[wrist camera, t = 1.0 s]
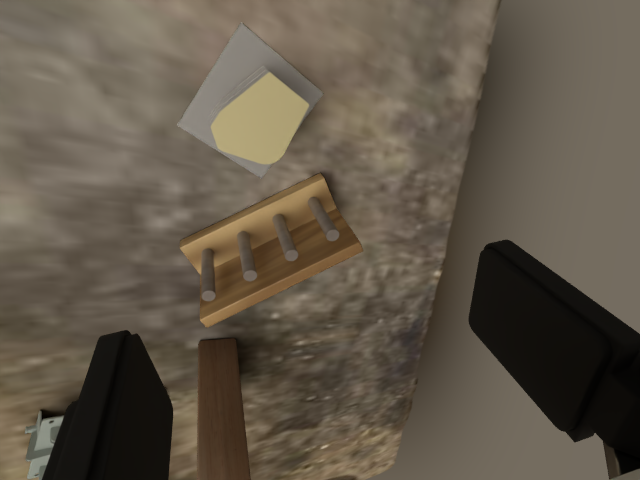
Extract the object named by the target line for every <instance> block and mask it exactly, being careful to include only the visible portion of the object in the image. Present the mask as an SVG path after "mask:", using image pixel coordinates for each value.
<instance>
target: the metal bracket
mask: <svg viewBox="0 0 640 480" xmlns="http://www.w3.org/2000/svg"><path fill="white" fill-rule="evenodd" d="M63 417H64V415H63V416H57V417H51V418H46V419H43V420H42V411H39V415H38V419H37V423H36V426H34V425H33V426H30V427H26V429H25V434H26V433H32V434H31V438H30V443H29V447H28V451H27V455H26V461H31V464H30V468H29V472H28V476H27V479H32V478H36V477H39V480H42V477H43V474H44V472H45V469H46V466H47V463H48V460H49V457H50V454H51V452H52V449H53V446H54V443H55V440H56V437H57V435H58V432H59V429H60V426H61V423H62V420H63ZM52 420H54V421H53V422H50V421H52ZM37 473H39V474H37ZM35 474H37V475H35Z"/></svg>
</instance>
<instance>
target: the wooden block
mask: <svg viewBox="0 0 640 480" xmlns="http://www.w3.org/2000/svg"><path fill="white" fill-rule="evenodd" d="M197 480H251V478H250V469H249V459H248V450H247V440H246V431H245V421H244V412H243V402H242V392H241V383H240V373H239V364H238V354H237V345H236V340H235V339H234V338H229V339H216V340H203V341H200V342H199V344H198V437H197Z"/></svg>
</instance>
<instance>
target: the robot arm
mask: <svg viewBox="0 0 640 480" xmlns="http://www.w3.org/2000/svg"><path fill="white" fill-rule="evenodd" d="M469 324H470V327H471V329H472V330H473V332H474V333H475V334H476V335H477V336H478V337H479V339H480V340H481V341H482V342H483V343H484V344H485V345H486V347H487V348H488V349H489V350H490V351H491V353H492V354H493V355H494V356H495V357H496V358H497V359H498V361H499V362H500V363H501V364H502V365H503V366H504V367H505V369H506V370H507V371H508V372H509V373H510V375H511V376H512V377H513V378H514V379H515V380H516V381H517V383H518V384H519V385H520V386H521V387H522V388H523V390H524V391H525V392H526V393H527V394H528V395H529V396H530V398H531V399H532V400H533V401H534V402H535V403H536V404H537V406H538V407H539V408H540V409H541V410H542V412H544V414H545V415H546V416H547V417H548V418H549V420H550V421H551V422H552V423H553V424H554V425H555V426H556V427H557V428H558V429H559V430H561V431H565V432H566V433H567V434H568V435H569V436H570V437H571V439H572V440H573V441H574V442H578V441H580V440H583V439H586V438H589V437H591V436H593V435H594V433H596V434H597V435H598V436H599V437H600V438H601V439H602V440H603V445H604V450H605V457H606V463H607V469H608V475H609V480H640V334H639V333H638V332H636V331H635V330H633V329H632V328H631V327H629V326H628V325H626V324H625V323H624V322H622V321H621V320H620V319H618V318H617V317H615V316H614V315H613V314H611V313H610V312H609V311H607V310H606V309H604V308H603V307H602V306H600V305H599V304H597V303H596V302H595V301H593V300H592V299H590V298H589V297H588V296H586V295H585V294H584V293H582V292H581V291H579V290H578V289H577V288H575V287H574V286H573V285H571V284H570V283H568V282H567V281H566V280H564V279H563V278H561V277H560V276H559V275H557V274H556V273H554V272H553V271H552V270H550V269H549V268H548V267H546V266H545V265H543V264H542V263H541V262H539V261H538V260H537V259H535V258H534V257H532V256H531V255H530V254H528V253H527V252H525V251H524V250H523V249H521V248H520V247H519V246H517V245H516V244H514V243H513V242H512V241H509V240H502V241H498V242H494V243H489V244H487V245H486V246H485V247H484V250H483V251H481V253H480V257H479V262H478V268H477V274H476V279H475V285H474V291H473V296H472V302H471V307H470V313H469ZM172 424H173V407H172V403H171V400H170V398H169V396H168V394H167V392H166V390H165V388H164V386H163V384H162V381H161V379H160V377H159V375H158V373H157V371H156V369H155V367H154V365H153V363H152V361H151V359H150V357H149V355H148V353H147V351H146V348H145V346H144V344H143V342H142V340H141V338H140V336H139V335H138V334H133V335H131V333H130V332H129V331H128V330H124V331H120V332H116V333H112V334H107V335H103V336H101V337H100V338H99V340H98V342H97V345H96V348H95V351H94V354H93V357H92V360H91V363H90V366H89V369H88V372H87V375H86V379H85V382H84V385H83V388H82V391H81V394H80V397H79V400H77V401H74V402H72V403H71V404H70V405H69V406H68V408H67V410H66V412H65V415H64V417H63V420H62V423H61V426H60V429H59V432H58V435H57V437H56V440H55V443H54V446H53V449H52V452H51V454H50V457H49V460H48V463H47V466H46V469H45V472H44V474H43V477H42V480H168V476H169V463H170V450H171V437H172Z"/></svg>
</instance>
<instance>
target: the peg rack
mask: <svg viewBox="0 0 640 480" xmlns="http://www.w3.org/2000/svg"><path fill="white" fill-rule="evenodd" d="M180 249H181V250H182V252H183V253H184V254H185V256H186V257H187V258H188V259H189V261H190V262H191V263H192V265H193V266H194V267H195V268H196V270H197V271H198V272H199V274H200V321H201V322H202V323H203V324H204V325H205V326H206V327H209V326H211V325H213V324H215V323H217V322H219V321H221V320H224V319H226V318H228V317H230V316H232V315H234V314H236V313H238V312H240V311H242V310H244V309H246V308H248V307H250V306H252V305H254V304H256V303H258V302H260V301H262V300H264V299H266V298H268V297H271V296H273V295H275V294H277V293H279V292H281V291H283V290H285V289H287V288H289V287H291V286H293V285H295V284H297V283H299V282H301V281H303V280H305V279H307V278H309V277H311V276H313V275H315V274H318V273H320V272H322V271H324V270H326V269H328V268H330V267H332V266H334V265H336V264H338V263H340V262H342V261H344V260H346V259H348V258H350V257H352V256H354V255H356V254H358V253H360V252H362V251H363V249H362V246H361V244H360V241H359V240H358V239H357V237H356V236H355V234H354V233H353V231H352V230H351V228H350V227H349V226H348V224H347V223H346V221H345V220H344V218H343V217H342V215H341V214H340V212H339V211H338V210H337V208H336V205H335V203H334V201H333V198H332V196H331V193H330V191H329V188H328V186H327V184H326V181H325V179H324V177H323V176H322V174H321V173H319V174H317V175H315V176H313V177H311V178H309V179H307V180H305V181H303V182H300V183H298V184H296V185H294V186H292V187H290V188H288V189H286V190H284V191H282V192H280V193H278V194H276V195H274V196H272V197H269V198H267V199H265V200H263V201H261V202H259V203H257V204H255V205H253V206H251V207H249V208H247V209H245V210H243V211H241V212H238V213H236V214H234V215H232V216H230V217H228V218H226V219H224V220H222V221H220V222H218V223H216V224H214V225H212V226H210V227H207V228H205V229H203V230H201V231H199V232H197V233H195V234H193V235H191V236H189V237H187V238H185V239H183V240H181V241H180Z"/></svg>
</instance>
